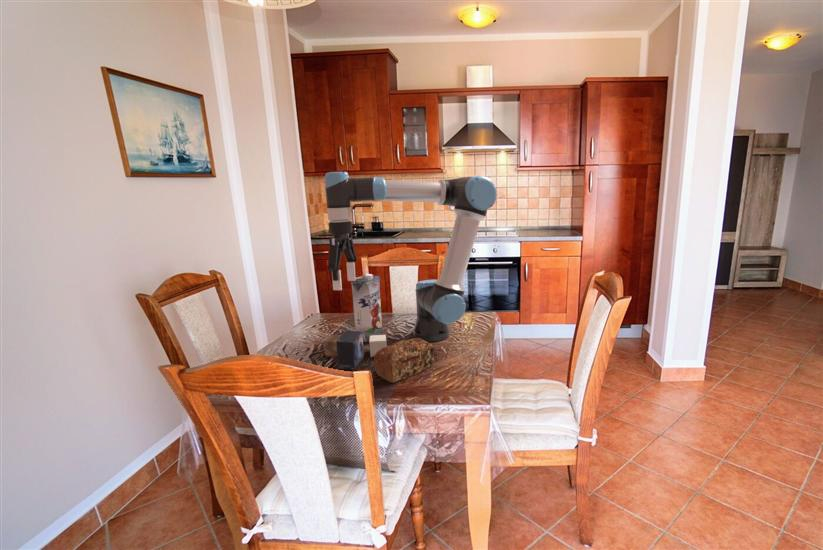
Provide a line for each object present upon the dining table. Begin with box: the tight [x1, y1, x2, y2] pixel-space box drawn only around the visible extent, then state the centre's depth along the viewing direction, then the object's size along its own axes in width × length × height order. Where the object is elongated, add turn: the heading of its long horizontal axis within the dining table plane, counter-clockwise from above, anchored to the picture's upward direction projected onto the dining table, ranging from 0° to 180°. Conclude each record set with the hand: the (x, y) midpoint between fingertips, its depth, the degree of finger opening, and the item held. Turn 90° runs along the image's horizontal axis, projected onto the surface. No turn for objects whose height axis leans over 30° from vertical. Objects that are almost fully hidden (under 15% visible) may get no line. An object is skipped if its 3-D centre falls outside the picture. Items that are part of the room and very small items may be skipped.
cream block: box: [368, 334, 388, 358], centre depth 146 cm, size 6×6×6 cm
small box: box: [336, 330, 365, 371], centre depth 137 cm, size 11×6×10 cm, turn 168°
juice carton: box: [350, 273, 383, 344], centre depth 158 cm, size 9×10×27 cm
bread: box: [373, 337, 435, 384], centre depth 131 cm, size 19×11×10 cm, turn 131°
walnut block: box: [323, 334, 342, 358], centre depth 147 cm, size 6×6×6 cm
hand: (345, 285), depth 132 cm, fingers open, 12 cm apart
